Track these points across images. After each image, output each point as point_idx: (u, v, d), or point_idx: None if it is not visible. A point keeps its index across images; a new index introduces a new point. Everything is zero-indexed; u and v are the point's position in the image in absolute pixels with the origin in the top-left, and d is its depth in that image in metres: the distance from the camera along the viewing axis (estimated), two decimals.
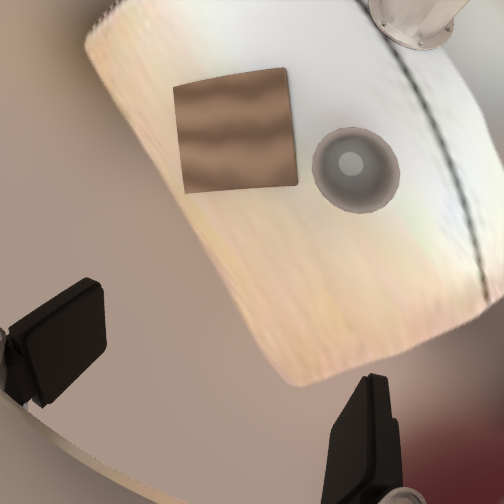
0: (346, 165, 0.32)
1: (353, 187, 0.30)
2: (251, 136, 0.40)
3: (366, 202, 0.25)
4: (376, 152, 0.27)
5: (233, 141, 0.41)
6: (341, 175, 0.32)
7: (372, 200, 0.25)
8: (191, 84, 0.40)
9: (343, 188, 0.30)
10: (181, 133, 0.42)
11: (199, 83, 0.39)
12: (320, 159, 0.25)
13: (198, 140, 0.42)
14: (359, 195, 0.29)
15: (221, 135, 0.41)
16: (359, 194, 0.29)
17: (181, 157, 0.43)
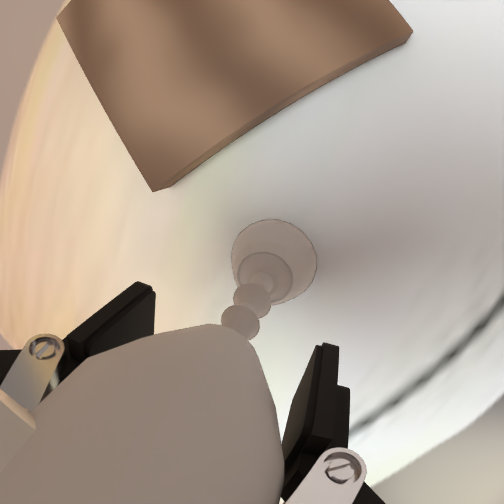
0: None
1: None
2: (201, 38, 0.13)
3: None
4: None
5: (172, 14, 0.13)
6: None
7: None
8: None
9: None
10: None
11: None
12: None
13: None
14: None
15: None
16: None
17: None
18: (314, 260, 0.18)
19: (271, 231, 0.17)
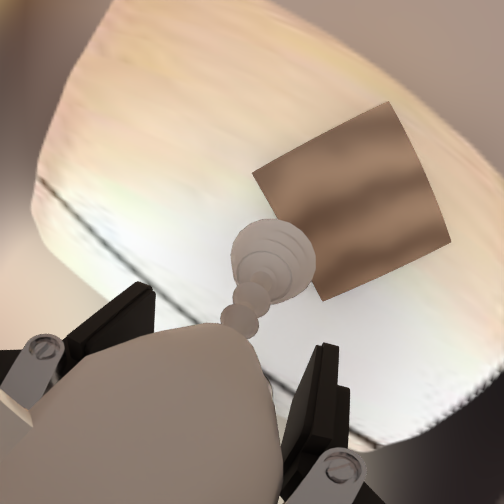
0: None
1: None
2: (329, 208, 0.32)
3: None
4: None
5: (349, 194, 0.31)
6: None
7: None
8: (428, 251, 0.30)
9: None
10: (423, 182, 0.28)
11: (418, 255, 0.31)
12: None
13: (396, 180, 0.29)
14: None
15: (368, 196, 0.30)
16: None
17: (412, 149, 0.27)
18: (314, 259, 0.18)
19: (270, 230, 0.17)
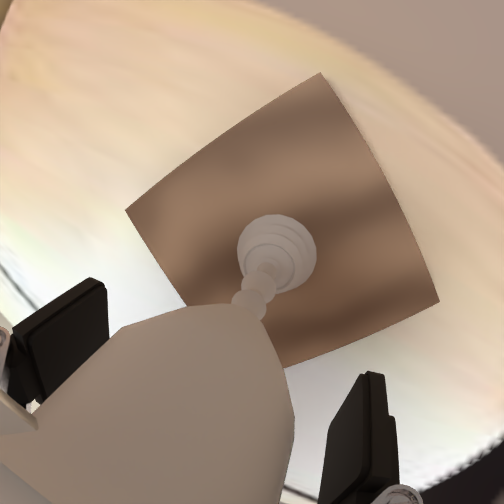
0: None
1: None
2: (234, 259, 0.21)
3: None
4: None
5: None
6: None
7: None
8: (400, 318, 0.19)
9: None
10: (390, 209, 0.17)
11: (383, 324, 0.20)
12: (40, 430, 0.04)
13: (341, 207, 0.18)
14: None
15: None
16: None
17: (368, 152, 0.16)
18: (314, 252, 0.19)
19: (275, 225, 0.18)
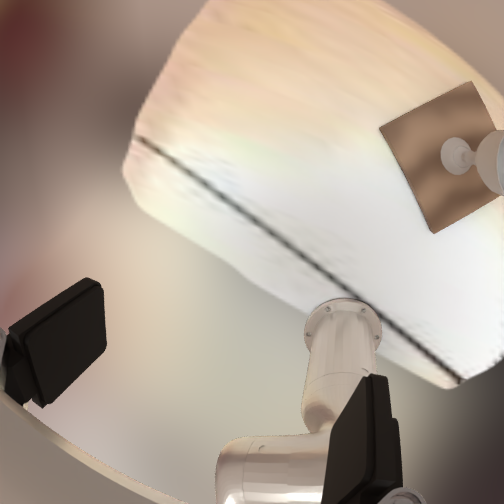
0: None
1: (478, 170, 0.24)
2: (438, 157, 0.35)
3: (501, 186, 0.20)
4: None
5: None
6: None
7: None
8: None
9: (478, 161, 0.24)
10: None
11: (497, 194, 0.34)
12: None
13: (480, 137, 0.32)
14: (483, 178, 0.23)
15: None
16: (483, 178, 0.23)
17: (488, 116, 0.31)
18: None
19: (460, 140, 0.33)
